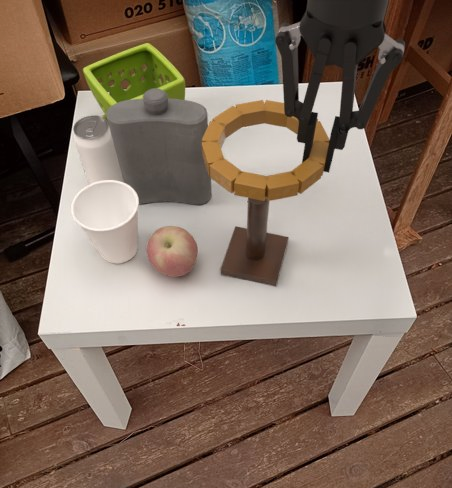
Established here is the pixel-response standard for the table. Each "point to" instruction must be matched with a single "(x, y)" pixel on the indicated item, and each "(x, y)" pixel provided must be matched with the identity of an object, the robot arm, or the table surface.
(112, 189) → the cup
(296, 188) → the hoop
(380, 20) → the robot arm
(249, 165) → the table surface
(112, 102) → the flower pot
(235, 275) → the peg stand
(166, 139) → the flask
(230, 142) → the table surface
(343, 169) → the table surface
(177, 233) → the apple
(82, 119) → the can
